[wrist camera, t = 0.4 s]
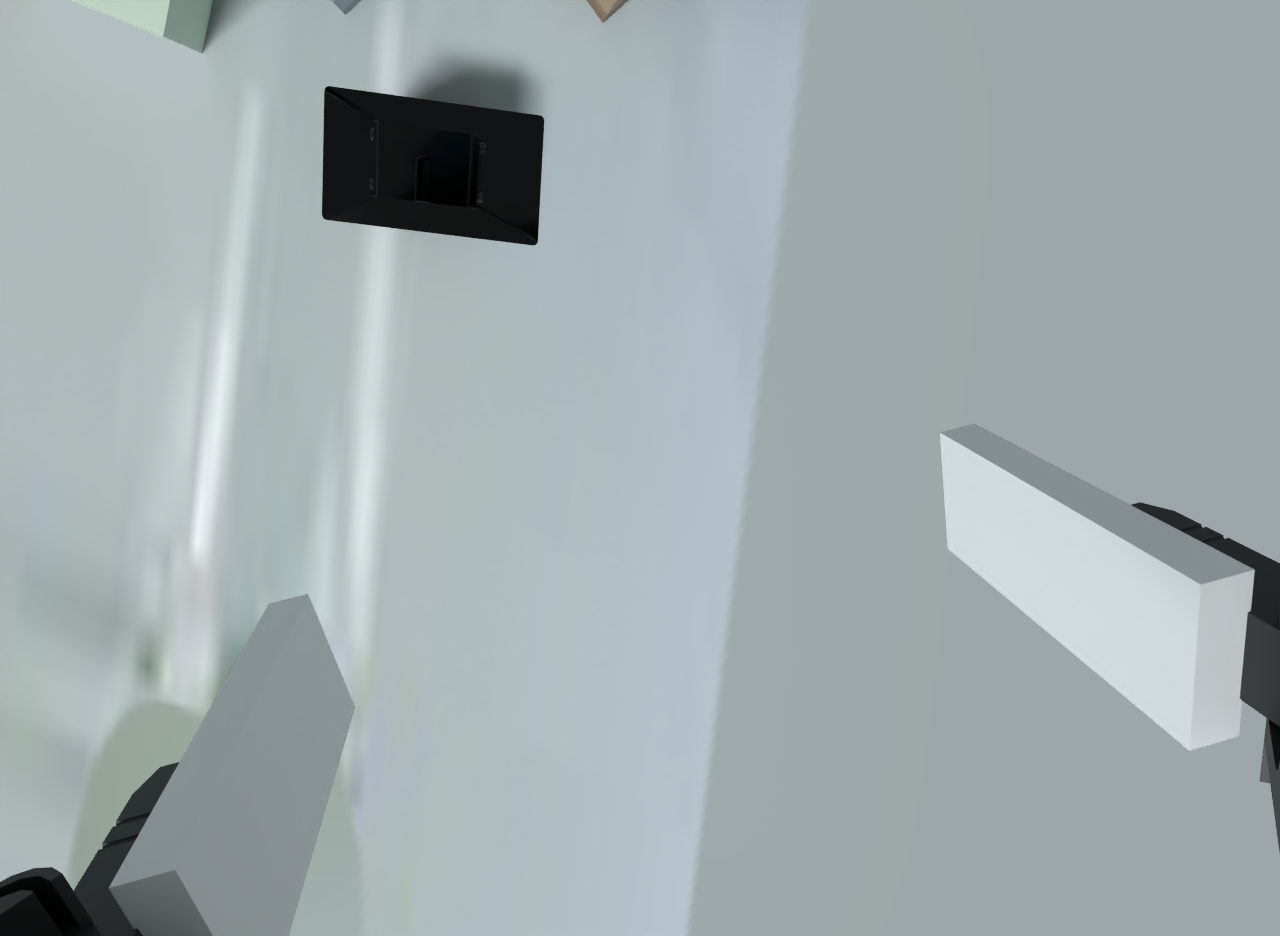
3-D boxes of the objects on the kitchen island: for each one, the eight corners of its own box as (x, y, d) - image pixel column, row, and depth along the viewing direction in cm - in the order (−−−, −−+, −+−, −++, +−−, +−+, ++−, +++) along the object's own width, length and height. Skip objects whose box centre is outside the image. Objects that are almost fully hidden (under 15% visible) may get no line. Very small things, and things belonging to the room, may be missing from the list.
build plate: (290, 231, 36) (257, 238, 31) (287, 53, 33) (251, 32, 29) (565, 263, 38) (570, 273, 33) (580, 97, 35) (587, 84, 31)
